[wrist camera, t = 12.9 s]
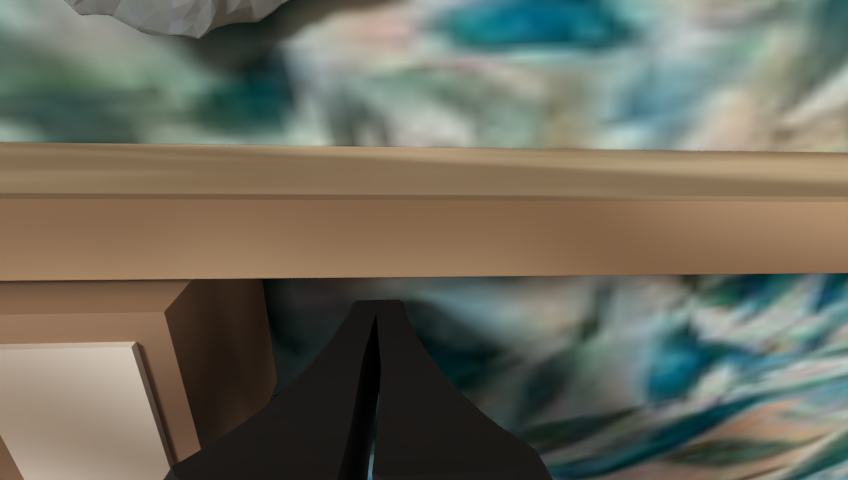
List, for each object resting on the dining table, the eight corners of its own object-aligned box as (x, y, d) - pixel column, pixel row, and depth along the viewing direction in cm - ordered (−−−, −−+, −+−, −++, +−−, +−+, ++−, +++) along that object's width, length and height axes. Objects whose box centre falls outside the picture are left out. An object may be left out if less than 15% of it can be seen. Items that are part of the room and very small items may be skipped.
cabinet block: (277, 378, 14) (221, 541, 10) (153, 382, 14) (32, 551, 9) (252, 210, 12) (159, 317, 7) (101, 210, 12) (-100, 321, 7)
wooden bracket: (814, 407, 16) (947, 520, 12) (57, 432, 14) (-69, 576, 10) (951, 153, 12) (1209, 203, 8) (-74, 141, 10) (-355, 197, 6)
